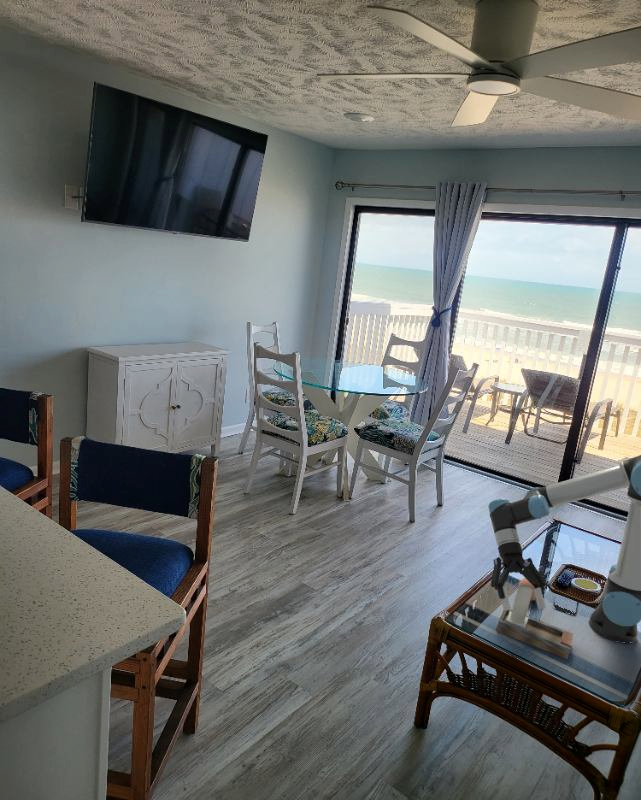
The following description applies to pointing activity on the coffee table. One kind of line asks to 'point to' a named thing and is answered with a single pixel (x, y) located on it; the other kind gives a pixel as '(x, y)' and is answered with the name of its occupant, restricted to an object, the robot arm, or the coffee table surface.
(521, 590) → the disc
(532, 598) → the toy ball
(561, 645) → the track
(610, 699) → the coffee table surface
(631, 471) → the robot arm
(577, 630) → the coffee table surface
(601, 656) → the coffee table surface
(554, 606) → the phone
